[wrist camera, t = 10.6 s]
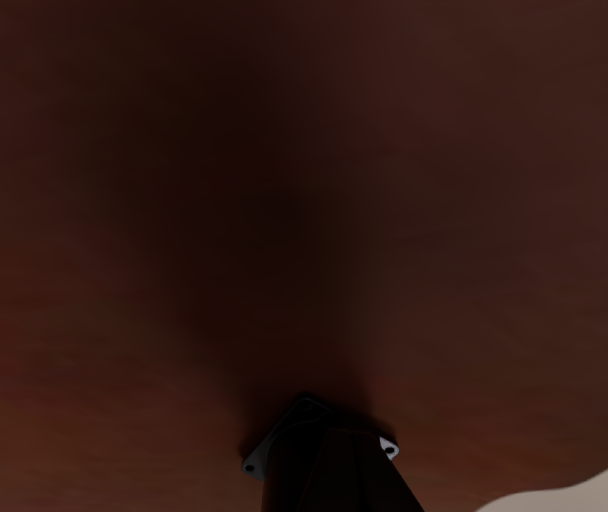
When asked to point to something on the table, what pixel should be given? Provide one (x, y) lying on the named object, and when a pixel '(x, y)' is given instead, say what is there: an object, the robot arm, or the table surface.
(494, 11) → the table surface
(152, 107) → the table surface
